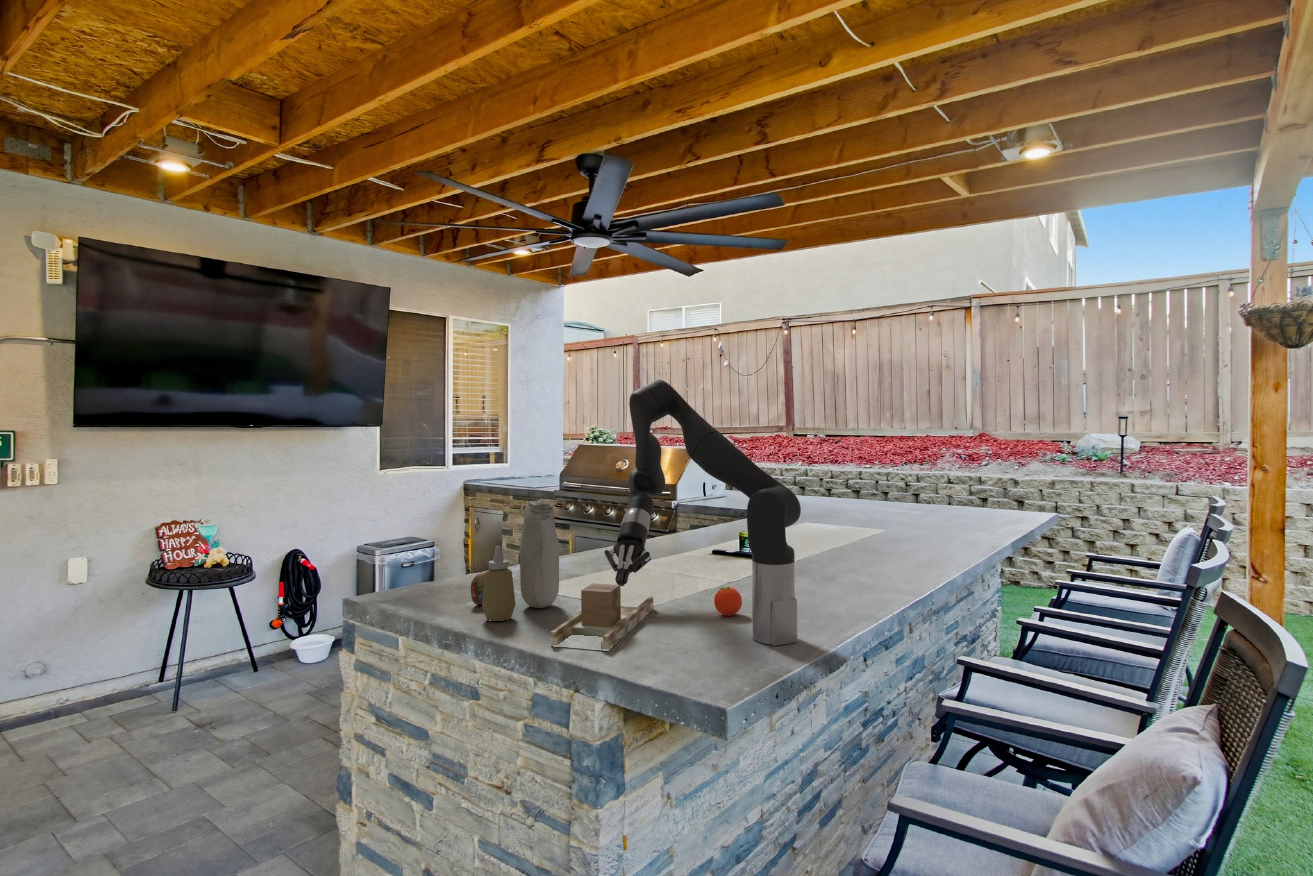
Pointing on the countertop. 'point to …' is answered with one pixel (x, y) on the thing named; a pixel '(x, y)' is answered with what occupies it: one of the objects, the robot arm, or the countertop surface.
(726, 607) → the clementine
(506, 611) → the squeeze bottle
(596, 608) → the walnut block
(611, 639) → the track
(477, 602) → the tin
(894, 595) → the countertop surface
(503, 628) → the countertop surface
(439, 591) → the countertop surface
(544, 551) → the grey vase
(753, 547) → the robot arm
